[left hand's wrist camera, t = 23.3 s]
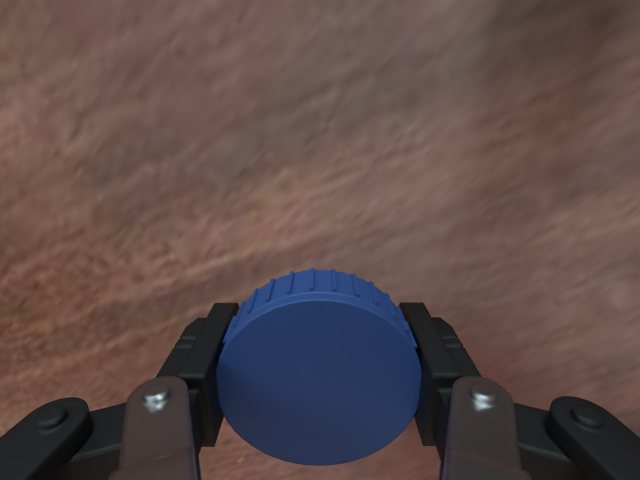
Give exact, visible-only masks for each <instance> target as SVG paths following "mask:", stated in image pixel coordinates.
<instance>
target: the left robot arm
mask: <svg viewBox="0 0 640 480" xmlns="http://www.w3.org/2000/svg"><path fill="white" fill-rule="evenodd" d="M399 307H400V309H401V311H402V314H403V316H404V319H405V321H407V322H408V325H409V327H410V330H411V332H412V335H413V337H414V339H415V342H416V344H417V347H418V349H415V350H416V353H417V355H418V358H419V361H420V364H421V369H422V376H421V385H420V394H419V402H418V408H417V411H416V413H415V415H414V418H415V421H416V424H417V427H418V431H419V434H420V437H421V441H422V444H423V446H436V447H437V450H438V453H439V456H440V459H441V463H440V470H439V479H438V480H640V438H639V437H638V436H637V435H636V434H635V433H633V432H632V431H631V430H630V429H629V428H627V427H626V426H625V425H624V424H623V423H621V422H620V421H619V420H618V419H617V418H615V417H614V416H613V415H612V414H610V413H609V412H608V411H606V410H605V409H603V408H602V407H600V406H598V405H596V404H594V403H592V402H590V401H587V400H584V399H581V398H577V397H571V396H563V397H558V398H556V399H554V400H553V401H552V403H551V406H550V409H549V411H546V410H541V409H537V408H533V407H529V406H525V405H521V404H517V403H514V402H513V399H512V397H511V396H510V394H509V393H508V392H507V391H506V390H505V389H504V388H503V387H502V386H500V385H499V384H497V383H495V382H493V381H491V380H489V379H486V378H483V377H481V375H480V373H479V372H478V370H477V368H476V366H475V365H474V363H473V361H472V360H471V358H470V356H469V355H468V353H467V351H466V350H465V348H463V345H462V343H461V341H460V340H459V339H458V336H457V335H456V333H455V331H454V330H453V328H452V326H450V325H449V324H448V323H446V322H445V321H444V320H443V319H441V318H440V317H431V316H430V314H429V312H428V310H427V309H426V307H425V305H424V303H400V305H399ZM238 311H239V305H238V303H215V304H214V305H213V307H212V309H211V311H210V313H209V315H208V316H207V318H197V319H196V320H195V321H193V322H192V323H191V324H189V325H188V326H187V327H186V328H185V330H184V332H183V333H182V335H181V336H180V340H178V341H177V343H176V345H175V348H173V350H172V351H171V353H170V355H169V356H168V358H167V360H166V361H165V363H164V365H163V366H162V368H161V370H160V371H159V373H158V374H157V376H156V378H154V379H151V380H149V381H147V382H145V383H143V384H141V385H140V386H138V387H137V388H136V389H135V390H134V391H133V392H132V393H131V394H130V396H129V397H128V399H127V402H125V403H122V404H119V405H116V406H112V407H107V408H103V409H99V410H95V411H91V412H89V408H88V405H87V403H86V402H85V401H84V400H82V399H80V398H74V397H71V398H62V399H58V400H55V401H52V402H49V403H47V404H45V405H43V406H41V407H39V408H37V409H36V410H34V411H32V412H31V413H30V414H28V415H27V416H26V417H25V418H23V419H22V420H21V421H20V422H19V423H17V424H16V425H15V426H14V427H13V428H11V429H10V430H9V431H8V432H7V433H5V434H4V435H3V436H2V437H1V438H0V480H202V479H201V470H200V463H199V456H198V455H199V452H200V449H201V447H215V443H216V440H217V437H218V434H219V430H220V427H221V424H222V421H223V417H224V415H223V413H222V411H221V408H220V403H219V395H218V387H217V379H216V369H217V365H218V361H219V358H220V355H221V353H222V351H223V348H224V345H225V343H223V340H224V337H225V335H226V333H227V330H228V328H229V325H230V323H231V320H232V318H233V316H235V317H236V316H237V313H238Z"/></svg>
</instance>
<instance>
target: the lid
mask: <svg viewBox="0 0 640 480" xmlns="http://www.w3.org/2000/svg"><path fill="white" fill-rule="evenodd" d="M223 343H225V345H224V348H223V351H222V353H221V355H220V358H219V361H218V365H217V369H216V379H217V387H218V395H219V403H220V408H221V411H222V413H223V415H224V416H225V418H226V420H227V422H228V423H229V424H230V426H231V427H232V428H233V429H234V431H235V432H236V433H237V434H238V435H239V436H240V437H241V438H242V439H244V440H245V441H246V442H247V443H249V444H250V445H251V446H253V447H255V448H256V449H258V450H260V451H261V452H263V453H265V454H268V455H270V456H272V457H275V458H277V459H280V460H283V461H287V462H292V463H296V464H303V465H319V466H322V465H335V464H341V463H347V462H351V461H354V460H358V459H361V458H363V457H366V456H369V455H371V454H373V453H375V452H377V451H379V450H380V449H382V448H383V447H385V446H387V445H388V444H389V443H391V442H392V441H393V440H394V439H396V438H397V437H398V436H399V435H400V434H401V433H402V432H403V431H404V430H405V428H406V427H407V426H408V424H409V423H410V422H411V420H412V418H413V417H414V415H415V413H416V411H417V408H418V402H419V394H420V385H421V376H422V369H421V364H420V361H419V358H418V355H417V353H416V350H415V349H418V347H417V344H416V342H415V339H414V337H413V335H412V332H411V330H410V327H409V325H408V322H407V321H405V319H404V316H403V314H402V311H401V309H400V307H399V306H398V307H396V306H395V305H394V303H393V302H392V301H391V299H390V297H389V294H388V293H385V294H384V293H383V292H382V291H380V290H379V289H378V288H377V287H375V286H374V283H373V282H371V281H370V283H368V282H367V281H365V280H362V279H360V278H358V277H356V275H355V274H353V273H352V274H351V275H349V274H346V273H342V272H336V271H335V269H331V271H329V270H314V268H311V269H310V271H302V272H297V273H294V272H293V271H292V272H290V274H289V275H286V276H283V277H280V278H278V279H276V280H275V279H274V278H273V279H271V281H270V283H268V284H267V285H265V286H263V287H262V288H260V289H259V290H258V289H255V290H254V293H253V295H252V296H251V297H250V298H249V299H248V300H247V301H246V302H244V301H243V302H242V303H241V306H240V308H239V311H238V313H237V316H236V317H235V316H233V318H232V320H231V323H230V325H229V328H228V330H227V333H226V335H225V337H224V340H223Z"/></svg>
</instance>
